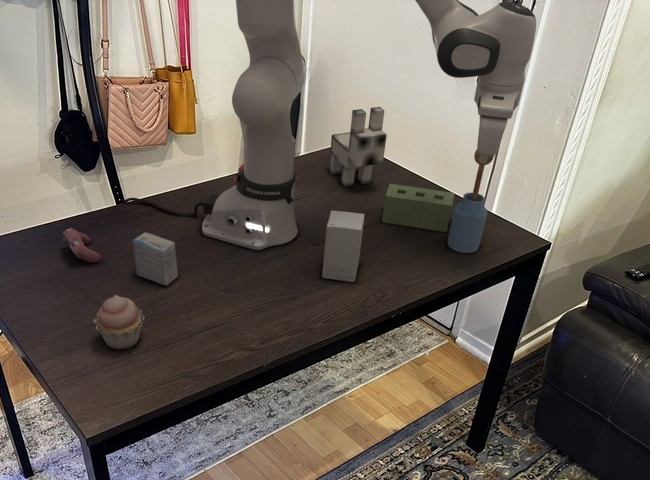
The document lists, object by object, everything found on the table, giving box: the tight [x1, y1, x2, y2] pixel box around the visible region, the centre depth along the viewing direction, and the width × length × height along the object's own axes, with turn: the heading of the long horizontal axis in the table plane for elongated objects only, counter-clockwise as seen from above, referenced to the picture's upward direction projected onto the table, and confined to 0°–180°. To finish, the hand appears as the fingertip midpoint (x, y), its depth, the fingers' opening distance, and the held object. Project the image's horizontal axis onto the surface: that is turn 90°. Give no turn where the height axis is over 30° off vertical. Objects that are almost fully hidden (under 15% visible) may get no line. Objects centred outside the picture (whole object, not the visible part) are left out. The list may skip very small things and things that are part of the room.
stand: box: [381, 183, 455, 233], centre depth 169 cm, size 16×7×7 cm, turn 75°
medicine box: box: [132, 231, 179, 287], centre depth 147 cm, size 8×4×9 cm, turn 59°
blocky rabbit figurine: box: [328, 106, 388, 187], centre depth 181 cm, size 8×18×20 cm, turn 22°
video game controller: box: [62, 227, 101, 263], centre depth 154 cm, size 10×5×7 cm, turn 27°
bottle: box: [447, 192, 489, 254], centre depth 159 cm, size 7×7×12 cm
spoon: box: [471, 149, 495, 202], centre depth 153 cm, size 4×1×17 cm, turn 75°
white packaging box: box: [321, 209, 366, 283], centre depth 149 cm, size 7×7×13 cm
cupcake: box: [93, 294, 145, 350], centre depth 130 cm, size 9×9×10 cm
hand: (482, 159), depth 150 cm, fingers closed on spoon, 1 cm apart
